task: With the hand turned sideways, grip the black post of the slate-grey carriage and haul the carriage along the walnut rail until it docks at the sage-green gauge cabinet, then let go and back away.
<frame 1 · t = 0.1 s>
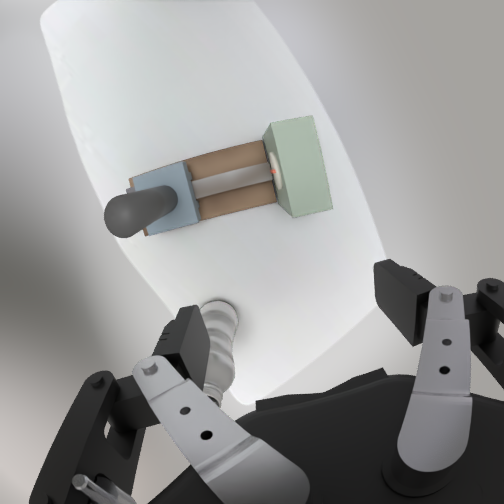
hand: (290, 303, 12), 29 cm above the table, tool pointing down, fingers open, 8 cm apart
carriage: (152, 204, 29), point 10 cm above the table, slide at 0.0 cm
plastic bottle: (218, 313, 45), on the table
rail: (200, 187, 39), on the table
gauge cabinet: (285, 167, 38), on the table
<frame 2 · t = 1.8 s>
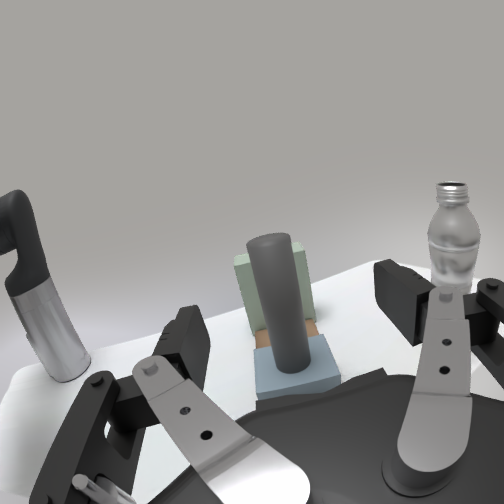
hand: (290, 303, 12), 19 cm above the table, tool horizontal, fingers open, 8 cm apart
carriage: (286, 325, 25), point 10 cm above the table, slide at 0.0 cm
plastic bottle: (442, 342, 28), on the table
rail: (294, 373, 32), on the table
gauge cabinet: (282, 322, 44), on the table
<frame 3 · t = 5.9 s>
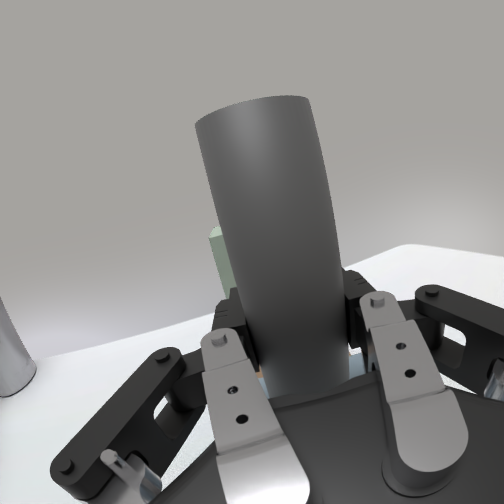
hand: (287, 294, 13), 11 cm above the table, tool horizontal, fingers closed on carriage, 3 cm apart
carriage: (301, 343, 10), point 10 cm above the table, slide at 0.0 cm, touching gripper
gauge cabinet: (288, 328, 29), on the table
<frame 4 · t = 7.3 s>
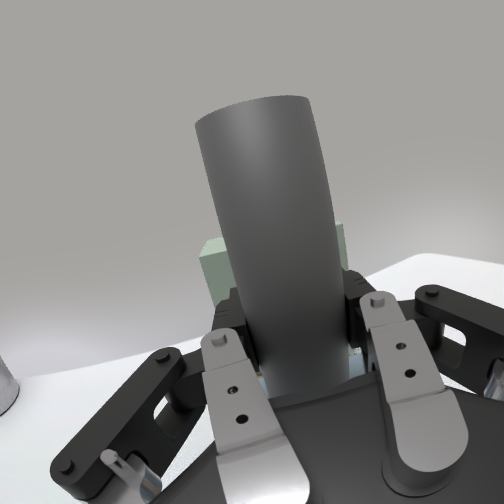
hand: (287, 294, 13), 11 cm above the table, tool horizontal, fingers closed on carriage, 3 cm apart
carriage: (301, 343, 10), point 10 cm above the table, slide at 5.2 cm, touching gripper
gauge cabinet: (295, 358, 24), on the table
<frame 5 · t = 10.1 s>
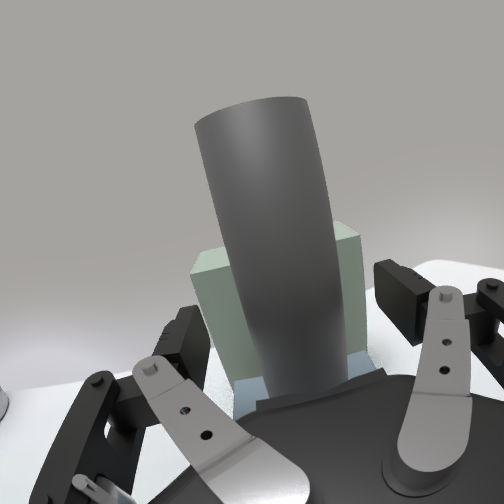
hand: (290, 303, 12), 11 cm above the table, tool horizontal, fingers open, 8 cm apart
carriage: (300, 341, 10), point 10 cm above the table, slide at 8.6 cm
gauge cabinet: (300, 381, 21), on the table
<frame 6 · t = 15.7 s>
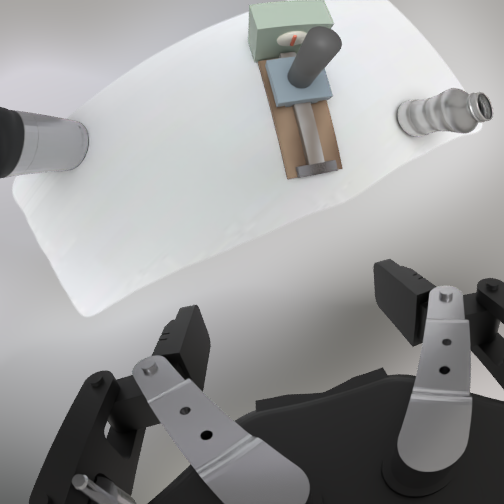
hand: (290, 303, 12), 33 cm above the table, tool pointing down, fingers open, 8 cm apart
carriage: (306, 66, 28), point 10 cm above the table, slide at 8.6 cm
plastic bottle: (407, 120, 39), on the table
rail: (300, 113, 39), on the table
gauge cabinet: (281, 47, 36), on the table
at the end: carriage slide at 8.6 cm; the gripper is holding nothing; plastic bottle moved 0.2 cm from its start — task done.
